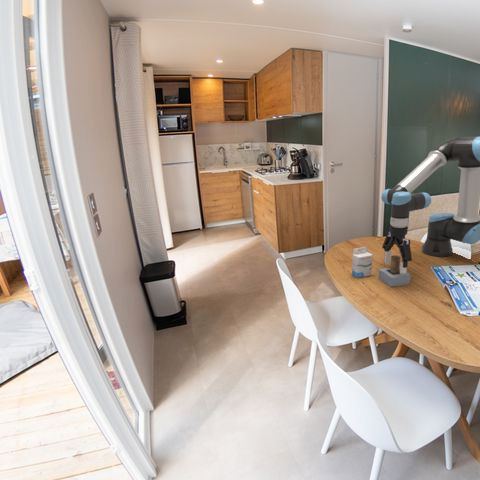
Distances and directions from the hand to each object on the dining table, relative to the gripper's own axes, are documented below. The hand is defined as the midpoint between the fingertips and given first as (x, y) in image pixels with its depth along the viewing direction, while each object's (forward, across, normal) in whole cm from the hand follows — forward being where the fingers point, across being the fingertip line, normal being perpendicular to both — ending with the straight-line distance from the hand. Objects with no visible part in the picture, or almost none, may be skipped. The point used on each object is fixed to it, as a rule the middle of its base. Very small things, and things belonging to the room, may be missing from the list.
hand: (394, 267), depth 147 cm
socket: (+7, 0, 0) cm, 7 cm away
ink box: (+7, -11, -11) cm, 17 cm away
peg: (+6, 0, 0) cm, 6 cm away
